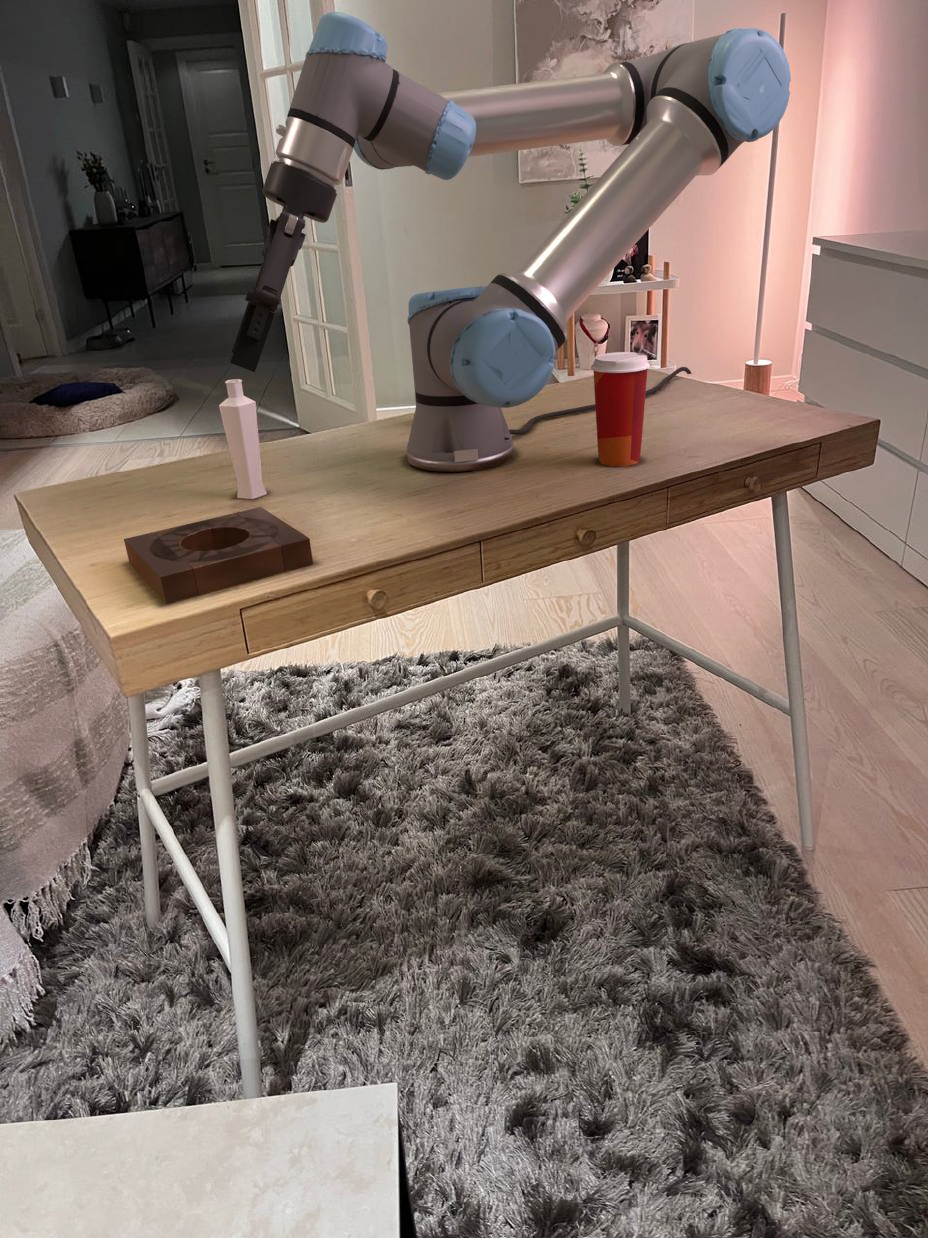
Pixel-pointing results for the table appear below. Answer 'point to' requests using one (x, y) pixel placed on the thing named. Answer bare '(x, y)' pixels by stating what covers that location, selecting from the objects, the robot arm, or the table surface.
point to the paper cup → (620, 406)
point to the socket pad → (217, 553)
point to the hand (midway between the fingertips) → (242, 361)
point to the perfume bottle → (243, 440)
